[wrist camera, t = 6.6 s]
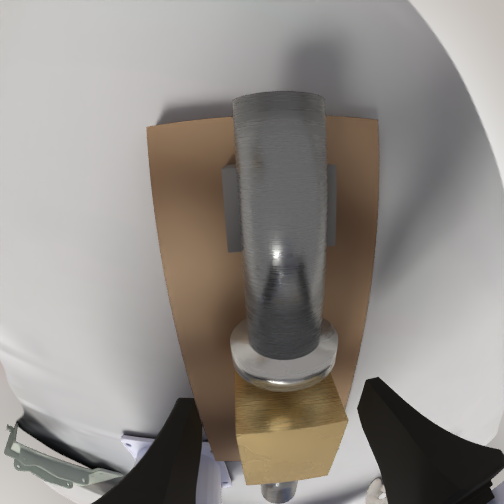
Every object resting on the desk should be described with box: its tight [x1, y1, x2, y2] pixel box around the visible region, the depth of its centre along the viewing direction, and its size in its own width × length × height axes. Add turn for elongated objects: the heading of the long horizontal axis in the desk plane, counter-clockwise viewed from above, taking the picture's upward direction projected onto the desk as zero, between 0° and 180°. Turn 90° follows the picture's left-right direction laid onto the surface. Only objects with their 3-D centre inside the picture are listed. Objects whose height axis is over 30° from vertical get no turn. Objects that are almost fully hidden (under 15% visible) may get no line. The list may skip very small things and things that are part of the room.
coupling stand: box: [147, 91, 379, 504], centre depth 11 cm, size 22×9×6 cm, turn 3°
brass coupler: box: [235, 370, 348, 485], centre depth 11 cm, size 5×4×6 cm
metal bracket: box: [4, 423, 123, 488], centre depth 19 cm, size 14×6×15 cm
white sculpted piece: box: [366, 478, 388, 504], centre depth 20 cm, size 6×8×12 cm
